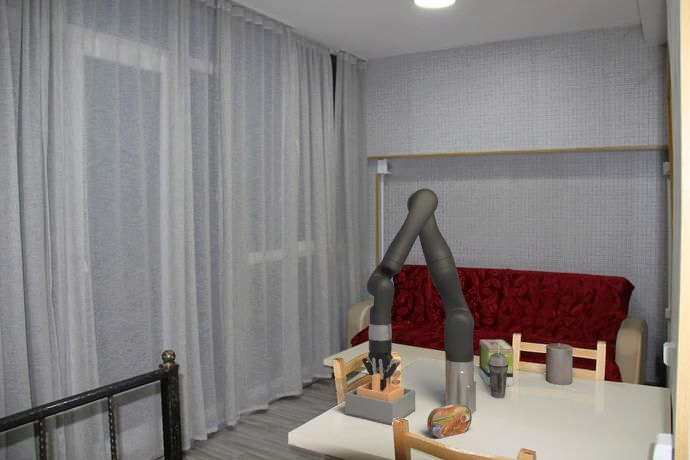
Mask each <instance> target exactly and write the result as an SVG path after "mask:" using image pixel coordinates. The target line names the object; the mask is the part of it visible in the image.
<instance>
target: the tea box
mask: <svg viewBox="0 0 690 460" xmlns="http://www.w3.org/2000/svg"><path fill="white" fill-rule="evenodd" d="M498 340H499V353H501V354H503V355H505V356H506V358H507V360H508V364H509V366H508V371H507V379H506V387H513V386H514V347H513V346H511V345H510V344H509V343H508V342H506V341H505V340H504V339H479V353H478V354H479V356H478V357H479V358H478V359H479V361H478V362H479V365H478V367H479V368H478V369H479V371H478V372H479V373H478V375H479V376H480V377H481V379H482V380H483V381H484V383H485V384H486V385H487V386H490V387H491V384H490V372H489V367H488V360H489V358H490V356H491V355H492V354H494V353H498Z"/></svg>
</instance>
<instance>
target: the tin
mask: <svg viewBox="0 0 690 460" xmlns="http://www.w3.org/2000/svg"><path fill="white" fill-rule="evenodd" d="M472 418H473V417H472V414H471V411H470V409H469V408H468V407H467V406H465V405H461V404H453V405H449V406H441V407H437V408H434V409H432V410H431V411H430V412H429V414H428V417H427V421H426V422H427V423H426V424H427V425H426V426H427V430H428V431H429V433H430V434H431V435H433V436H434V437H436V438H439V439H444V438H447V437H453V436H456V435H460V434H463V433H466V432H467V431H468V430H469V428H470V427H471V424H472V420H473V419H472Z"/></svg>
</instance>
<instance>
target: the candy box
mask: <svg viewBox="0 0 690 460" xmlns="http://www.w3.org/2000/svg"><path fill="white" fill-rule="evenodd" d="M391 355H392V359H393V360H394V361H395V362H398V363H399V365H398V367H397V368H396V370H395V372H394V373H393V375H392V376H391V377H389V384H390V385H395V386H400V387H402V358H401V356H400V355H399V354H398V352H396V351H391ZM389 369H390V364H389V365H388V370H389Z"/></svg>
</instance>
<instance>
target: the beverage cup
mask: <svg viewBox="0 0 690 460" xmlns="http://www.w3.org/2000/svg"><path fill="white" fill-rule="evenodd" d="M497 340H498V353H494V354H492V355H491V356H490V358H489V360H488V367H489V372H490V384H491V386H490V391H491V392H490V394H491V397H492V398H495V399H504V398H505V397H506V391H507V390H506V389H507V386H506V379H507V371H508V366H509V364H508V360H507V358H506V356H505V355H503V354H501V353H499V340H500V339H497Z"/></svg>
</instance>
